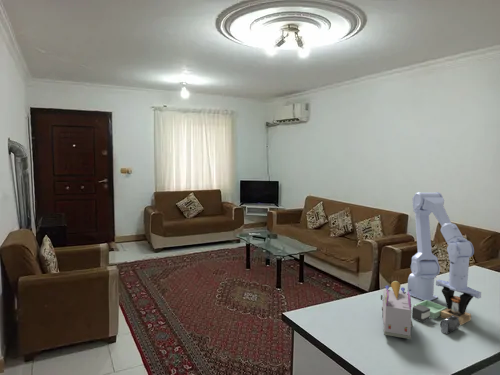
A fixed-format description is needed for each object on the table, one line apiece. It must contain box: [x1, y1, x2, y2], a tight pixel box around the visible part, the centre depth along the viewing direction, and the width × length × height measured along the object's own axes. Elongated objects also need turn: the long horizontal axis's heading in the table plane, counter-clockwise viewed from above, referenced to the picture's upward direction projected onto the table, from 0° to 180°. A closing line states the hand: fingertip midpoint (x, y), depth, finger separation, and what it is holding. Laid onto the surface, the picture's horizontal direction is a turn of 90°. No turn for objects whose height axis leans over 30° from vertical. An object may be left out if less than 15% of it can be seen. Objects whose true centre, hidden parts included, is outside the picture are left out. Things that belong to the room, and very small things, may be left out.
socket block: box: [440, 308, 472, 326], centre depth 123 cm, size 7×7×2 cm
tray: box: [413, 300, 447, 320], centre depth 128 cm, size 8×9×2 cm
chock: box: [411, 304, 430, 323], centre depth 123 cm, size 4×4×4 cm
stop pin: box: [451, 295, 461, 317], centre depth 123 cm, size 4×4×8 cm
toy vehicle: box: [380, 280, 414, 340], centre depth 115 cm, size 9×20×15 cm, turn 161°
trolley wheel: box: [439, 315, 461, 335], centre depth 115 cm, size 4×7×4 cm, turn 124°
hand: (456, 310), depth 123 cm, fingers closed on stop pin, 4 cm apart
